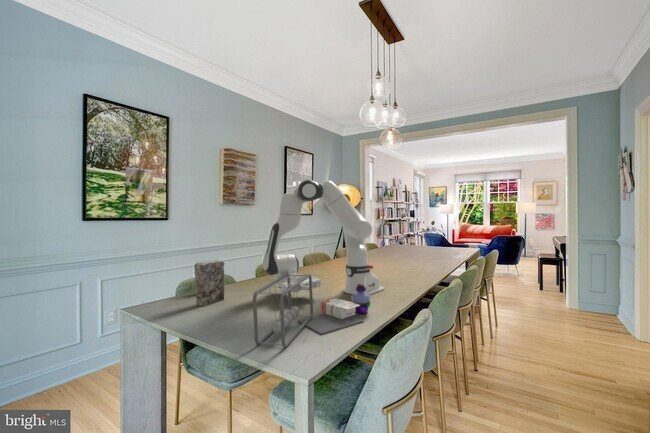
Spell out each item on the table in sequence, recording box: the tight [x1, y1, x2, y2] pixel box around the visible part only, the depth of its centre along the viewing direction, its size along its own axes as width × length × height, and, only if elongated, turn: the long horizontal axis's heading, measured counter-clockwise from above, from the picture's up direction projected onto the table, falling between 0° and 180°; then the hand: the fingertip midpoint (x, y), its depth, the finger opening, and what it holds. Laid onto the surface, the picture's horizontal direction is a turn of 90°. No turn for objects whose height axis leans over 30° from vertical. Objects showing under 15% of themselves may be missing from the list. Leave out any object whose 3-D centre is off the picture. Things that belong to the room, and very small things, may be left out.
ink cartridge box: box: [320, 297, 360, 319], centre depth 126 cm, size 9×5×15 cm
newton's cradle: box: [252, 273, 314, 348], centre depth 112 cm, size 30×10×18 cm, turn 165°
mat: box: [297, 313, 365, 336], centre depth 120 cm, size 20×16×1 cm
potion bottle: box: [350, 284, 372, 315], centre depth 131 cm, size 9×9×12 cm
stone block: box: [193, 259, 225, 307], centre depth 149 cm, size 13×7×20 cm, turn 153°
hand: (309, 288), depth 143 cm, fingers closed
